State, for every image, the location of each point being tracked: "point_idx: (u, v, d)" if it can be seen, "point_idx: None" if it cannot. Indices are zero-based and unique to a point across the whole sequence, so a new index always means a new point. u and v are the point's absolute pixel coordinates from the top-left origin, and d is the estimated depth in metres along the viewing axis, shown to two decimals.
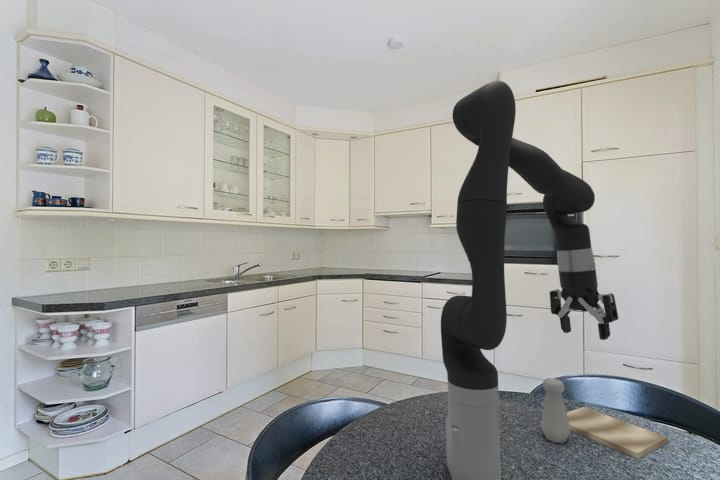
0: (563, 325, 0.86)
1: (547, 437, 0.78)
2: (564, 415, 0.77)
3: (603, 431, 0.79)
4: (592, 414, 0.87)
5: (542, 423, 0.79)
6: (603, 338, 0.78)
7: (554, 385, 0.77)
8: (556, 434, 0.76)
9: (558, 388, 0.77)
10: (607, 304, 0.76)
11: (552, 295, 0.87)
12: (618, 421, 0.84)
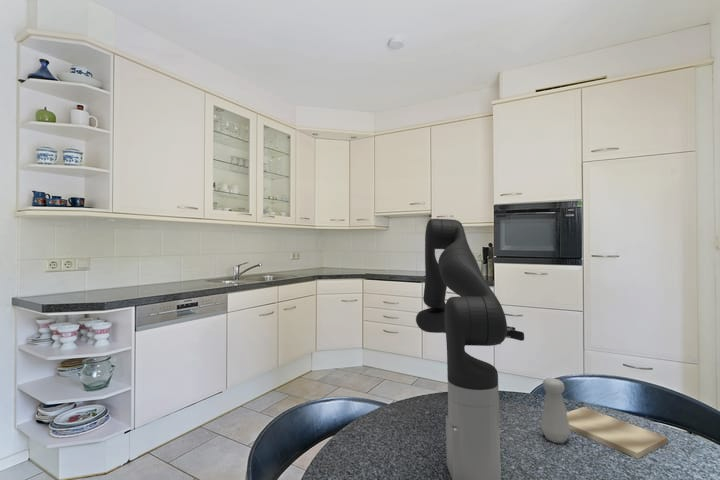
0: None
1: (547, 437, 0.78)
2: (564, 415, 0.77)
3: (603, 431, 0.79)
4: (592, 414, 0.87)
5: (542, 423, 0.79)
6: None
7: (554, 385, 0.77)
8: (556, 435, 0.76)
9: (558, 388, 0.77)
10: None
11: None
12: (618, 421, 0.84)
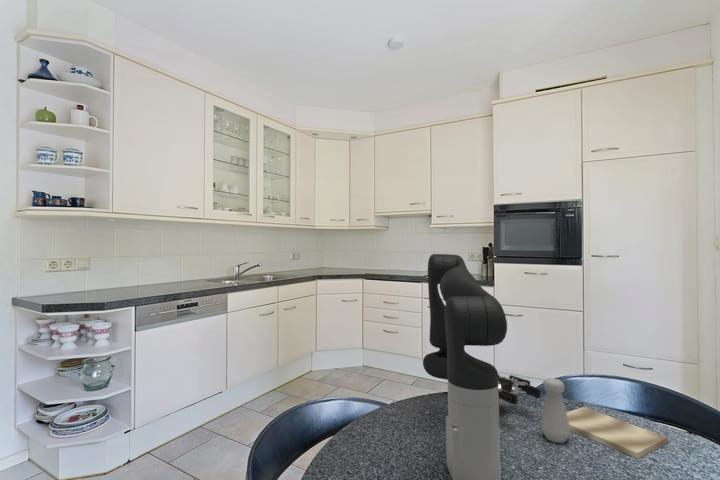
0: (509, 392, 0.84)
1: (547, 437, 0.78)
2: (564, 415, 0.77)
3: (603, 431, 0.79)
4: (592, 414, 0.87)
5: (542, 423, 0.79)
6: None
7: (554, 385, 0.77)
8: (556, 435, 0.76)
9: (558, 388, 0.77)
10: (516, 377, 0.95)
11: None
12: (618, 421, 0.84)
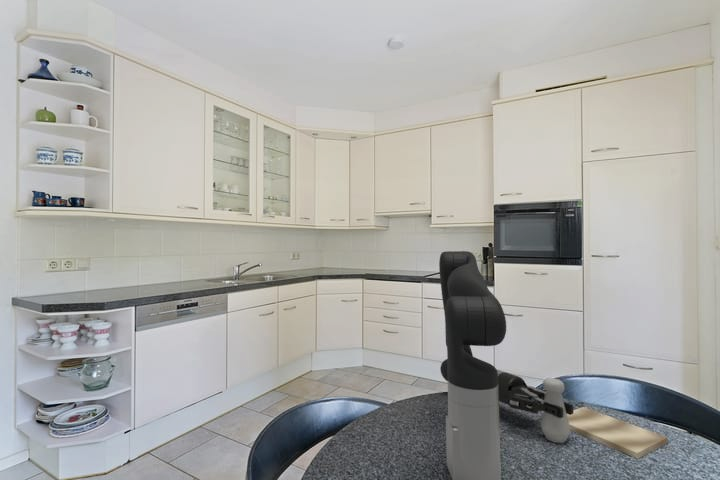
0: (553, 405, 0.77)
1: (547, 437, 0.78)
2: (564, 415, 0.77)
3: (603, 431, 0.79)
4: (592, 414, 0.87)
5: (542, 423, 0.78)
6: None
7: (554, 386, 0.77)
8: (556, 435, 0.76)
9: (558, 388, 0.77)
10: None
11: (514, 396, 0.81)
12: (618, 421, 0.84)
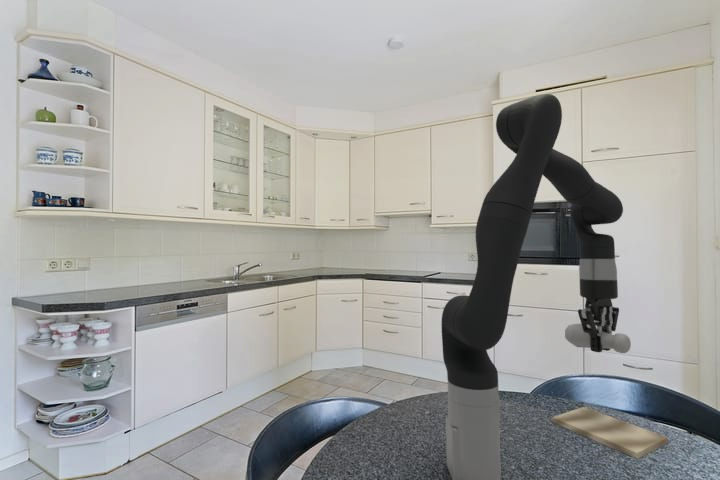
0: None
1: (566, 332, 0.87)
2: None
3: (603, 431, 0.79)
4: (592, 414, 0.87)
5: (577, 330, 0.85)
6: None
7: (621, 350, 0.77)
8: (572, 342, 0.86)
9: (620, 352, 0.78)
10: (617, 315, 0.85)
11: (591, 314, 0.79)
12: (618, 421, 0.84)
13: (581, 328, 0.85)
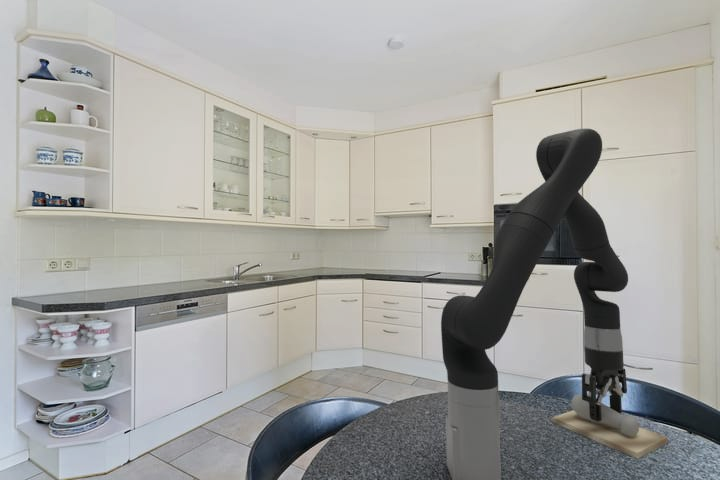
0: (600, 413, 0.78)
1: (573, 403, 0.86)
2: None
3: (603, 431, 0.79)
4: None
5: (584, 404, 0.83)
6: None
7: (628, 435, 0.76)
8: (578, 415, 0.84)
9: (627, 435, 0.76)
10: (624, 376, 0.84)
11: (594, 381, 0.78)
12: None
13: None
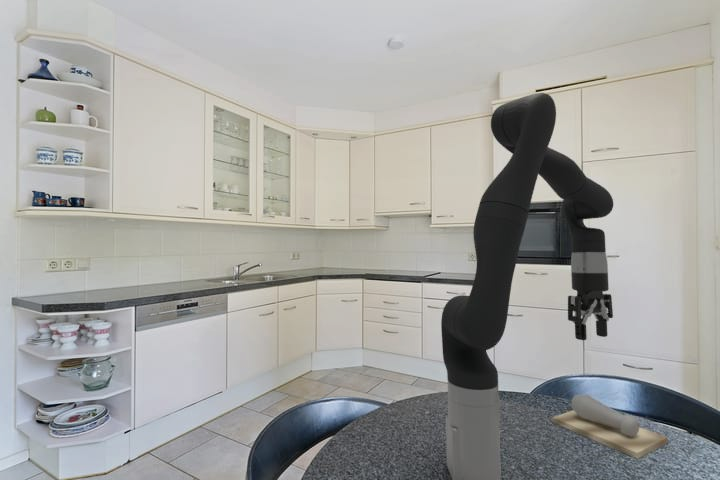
0: (585, 332, 0.81)
1: (573, 403, 0.86)
2: None
3: (603, 431, 0.79)
4: None
5: (584, 404, 0.83)
6: None
7: (628, 435, 0.76)
8: (578, 414, 0.84)
9: (627, 435, 0.76)
10: (610, 302, 0.87)
11: (580, 301, 0.81)
12: None
13: (589, 402, 0.83)
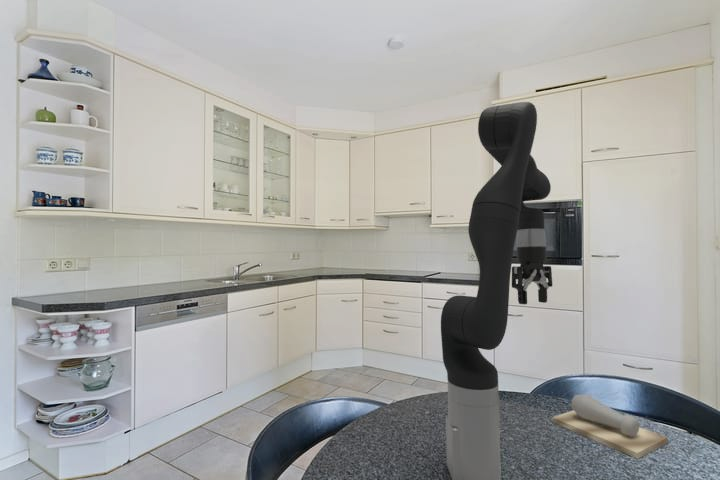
0: (526, 297, 0.95)
1: (573, 403, 0.86)
2: None
3: (603, 431, 0.79)
4: None
5: (584, 404, 0.83)
6: None
7: (628, 435, 0.76)
8: (578, 414, 0.84)
9: (627, 435, 0.76)
10: (550, 272, 1.00)
11: (521, 270, 0.94)
12: None
13: (589, 402, 0.83)
